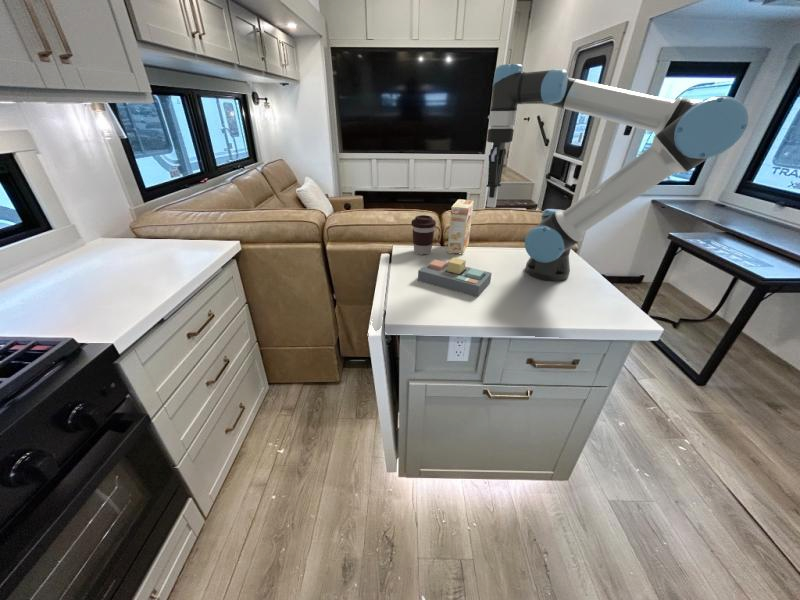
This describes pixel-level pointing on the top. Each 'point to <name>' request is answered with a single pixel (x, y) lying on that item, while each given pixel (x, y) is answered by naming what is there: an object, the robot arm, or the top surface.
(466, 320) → the top surface
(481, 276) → the key
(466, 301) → the top surface
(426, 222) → the coffee cup
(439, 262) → the key
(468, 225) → the coffeecake box
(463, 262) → the key mid
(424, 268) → the keypad board
